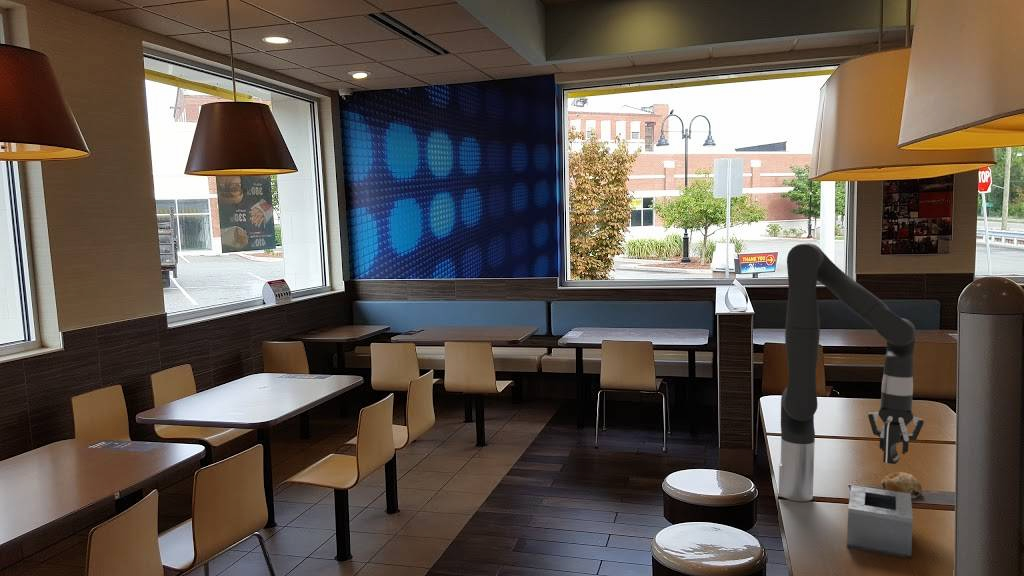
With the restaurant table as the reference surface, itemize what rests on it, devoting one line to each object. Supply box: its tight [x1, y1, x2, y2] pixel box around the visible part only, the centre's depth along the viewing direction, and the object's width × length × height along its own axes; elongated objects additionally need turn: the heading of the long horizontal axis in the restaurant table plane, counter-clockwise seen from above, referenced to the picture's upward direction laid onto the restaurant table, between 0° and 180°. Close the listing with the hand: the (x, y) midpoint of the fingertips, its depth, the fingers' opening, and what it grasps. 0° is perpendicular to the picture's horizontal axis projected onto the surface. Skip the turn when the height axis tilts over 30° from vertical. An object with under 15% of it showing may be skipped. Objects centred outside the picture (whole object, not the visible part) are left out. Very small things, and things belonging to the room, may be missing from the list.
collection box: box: [846, 484, 914, 560], centre depth 179 cm, size 14×18×10 cm
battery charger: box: [882, 422, 904, 465], centre depth 193 cm, size 7×4×11 cm, turn 138°
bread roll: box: [881, 471, 923, 499], centre depth 211 cm, size 10×10×8 cm
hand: (893, 451), depth 194 cm, fingers closed on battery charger, 4 cm apart
